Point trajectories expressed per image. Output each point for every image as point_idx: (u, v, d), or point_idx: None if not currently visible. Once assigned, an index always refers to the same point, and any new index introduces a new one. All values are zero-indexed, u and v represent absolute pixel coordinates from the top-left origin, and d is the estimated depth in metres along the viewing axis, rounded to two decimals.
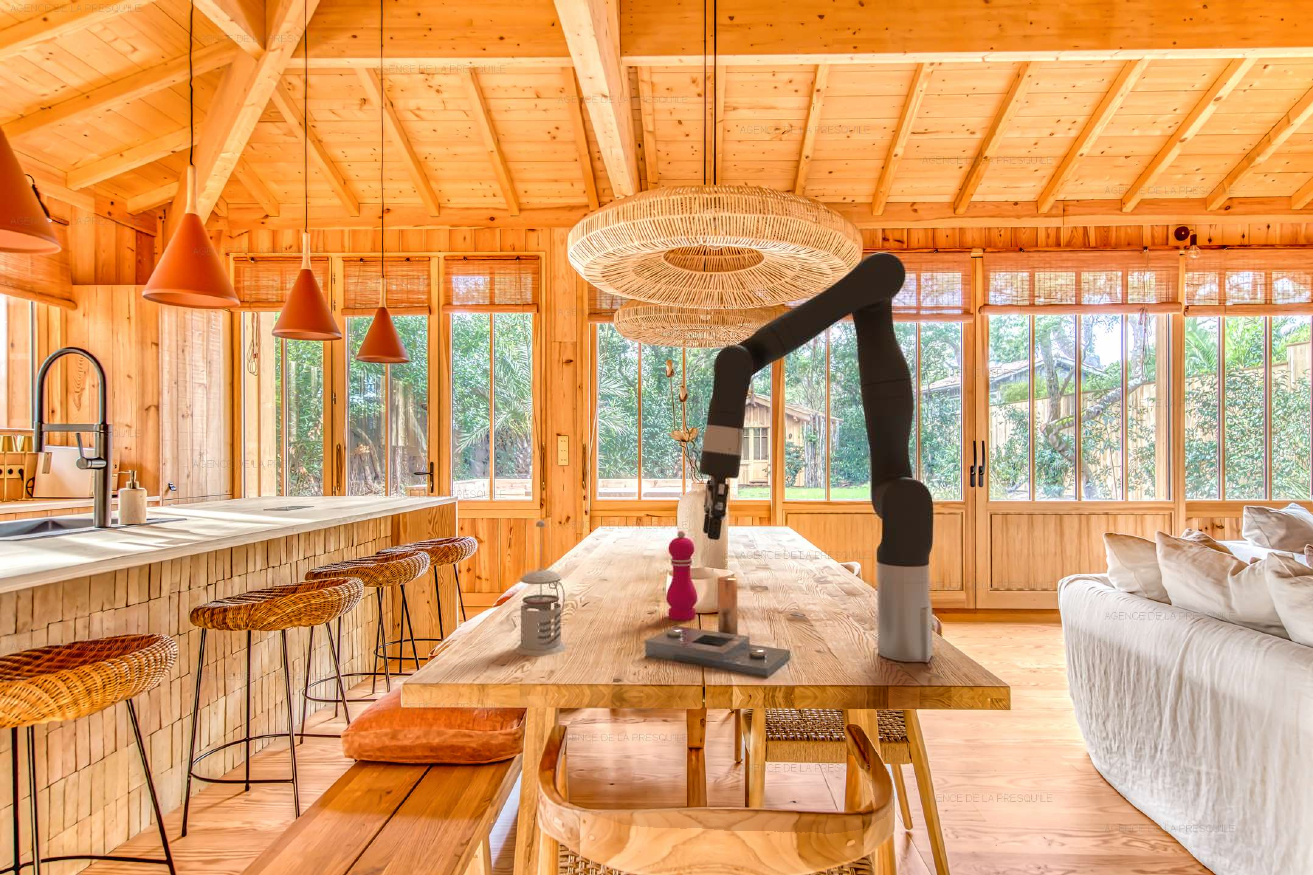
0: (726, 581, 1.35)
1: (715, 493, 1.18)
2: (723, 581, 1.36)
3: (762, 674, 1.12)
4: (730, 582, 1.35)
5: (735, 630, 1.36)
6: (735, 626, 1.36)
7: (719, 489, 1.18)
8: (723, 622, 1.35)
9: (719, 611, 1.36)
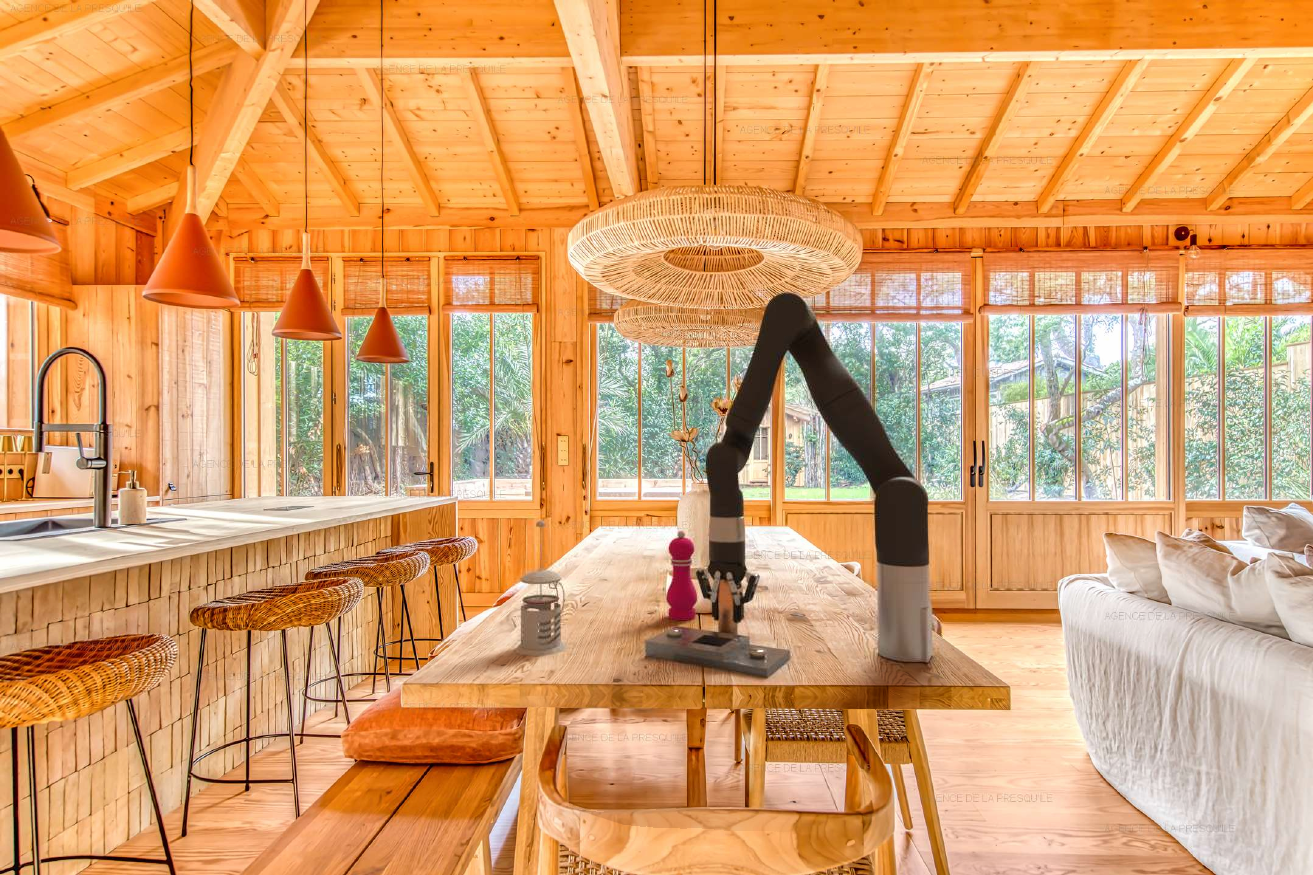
0: (726, 581, 1.35)
1: (753, 585, 1.33)
2: (723, 581, 1.36)
3: (762, 674, 1.12)
4: None
5: (735, 630, 1.36)
6: (735, 626, 1.36)
7: (755, 581, 1.34)
8: (723, 622, 1.35)
9: (719, 611, 1.36)
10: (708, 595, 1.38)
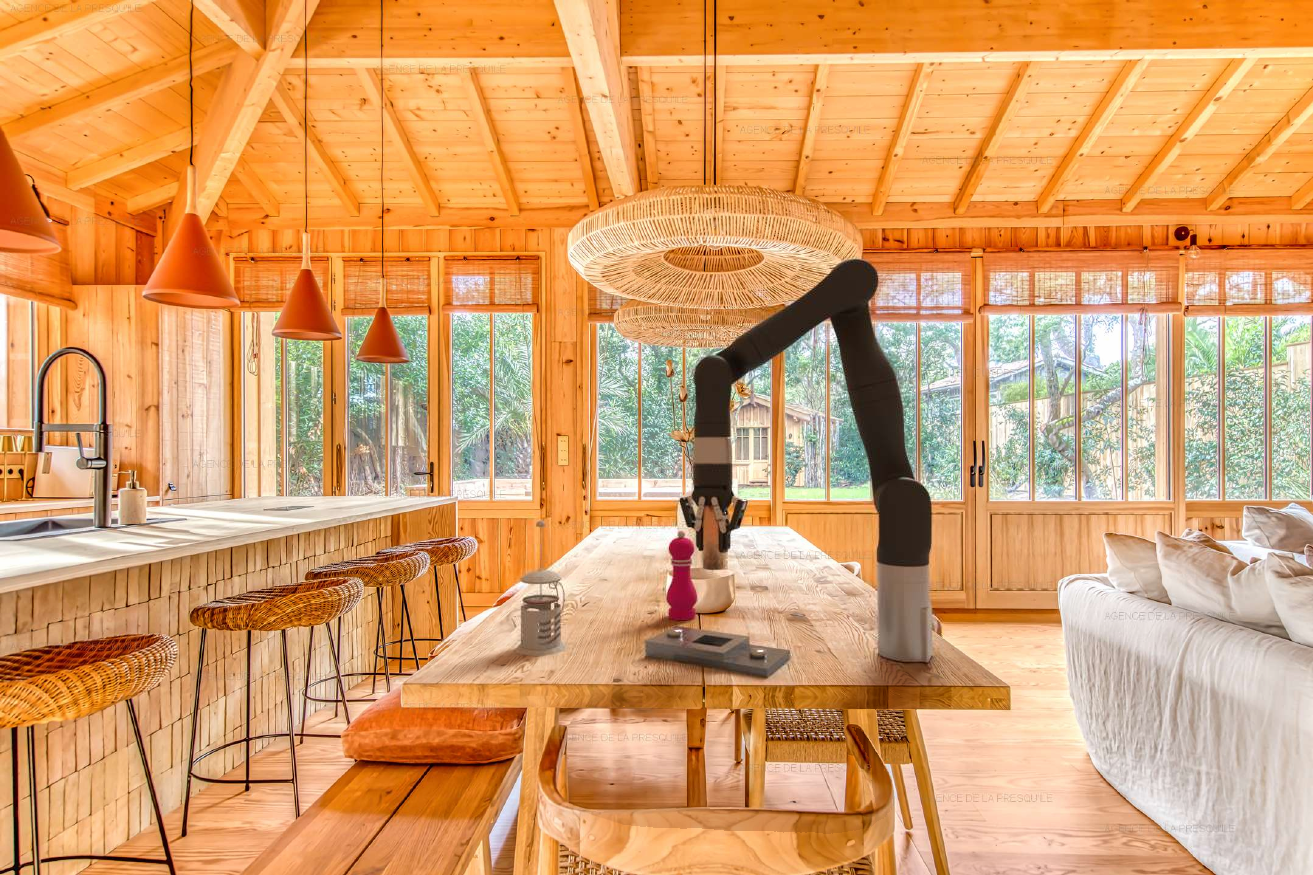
0: (711, 507, 1.24)
1: (740, 510, 1.22)
2: (708, 507, 1.25)
3: (762, 674, 1.12)
4: None
5: (721, 560, 1.25)
6: (721, 556, 1.25)
7: (743, 506, 1.23)
8: (707, 551, 1.24)
9: (703, 540, 1.25)
10: (692, 524, 1.27)
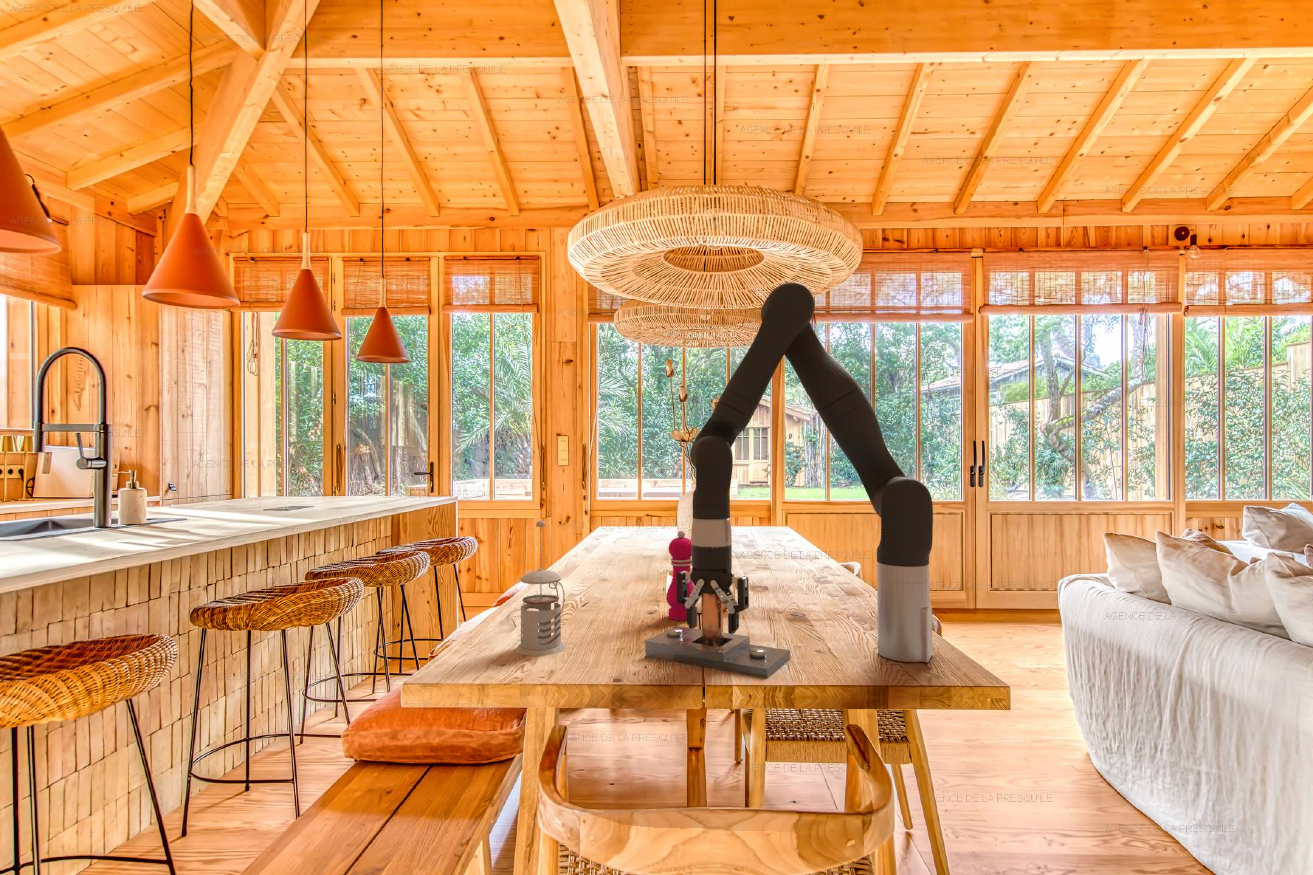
0: (710, 595, 1.22)
1: (743, 589, 1.19)
2: (707, 595, 1.22)
3: (762, 674, 1.12)
4: (714, 597, 1.22)
5: None
6: (720, 645, 1.22)
7: (745, 584, 1.20)
8: (706, 641, 1.22)
9: (703, 629, 1.23)
10: (682, 600, 1.26)
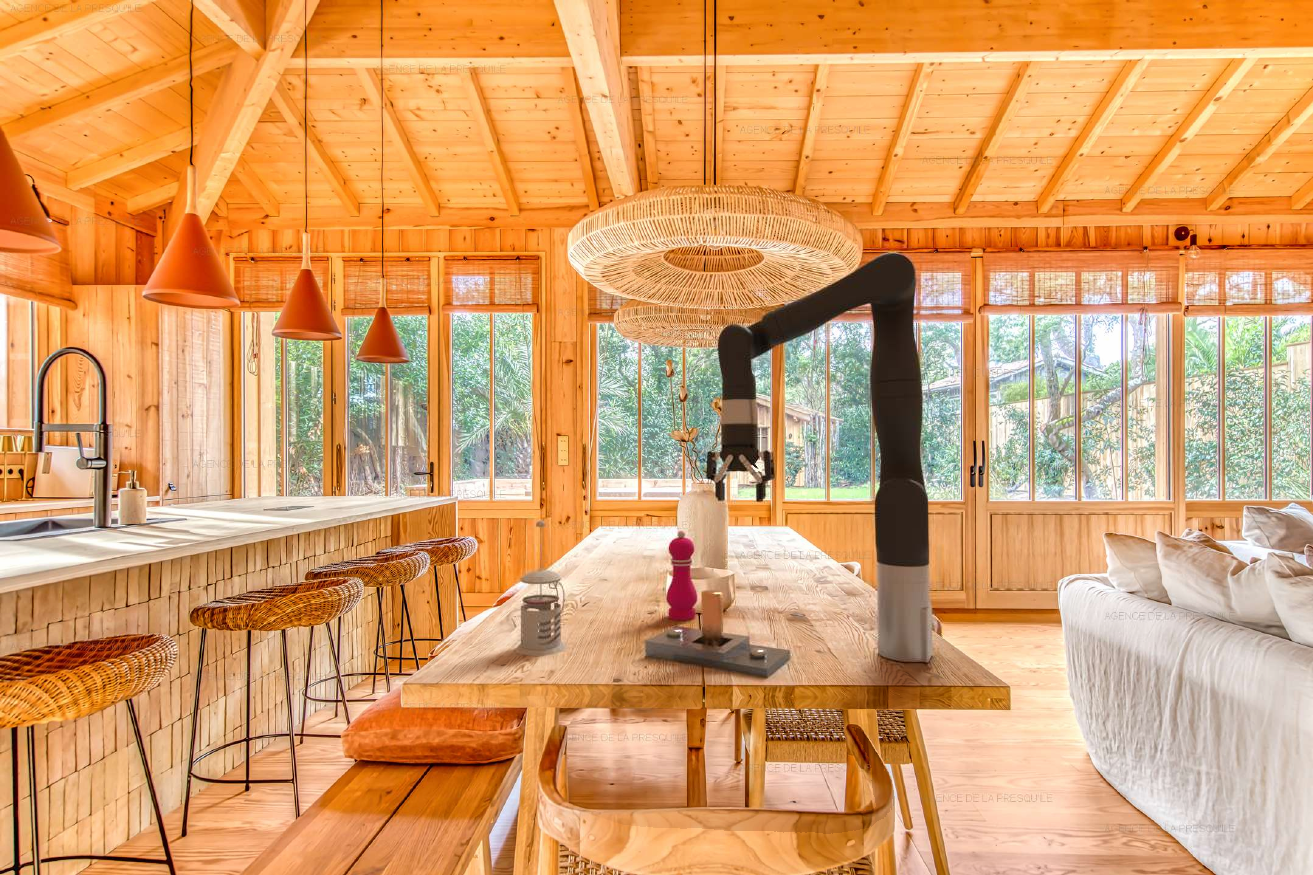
0: (710, 595, 1.22)
1: (769, 459, 1.32)
2: (707, 595, 1.22)
3: (762, 674, 1.12)
4: (714, 597, 1.22)
5: None
6: (720, 645, 1.22)
7: (770, 455, 1.33)
8: (706, 641, 1.22)
9: (703, 629, 1.23)
10: (711, 476, 1.38)
